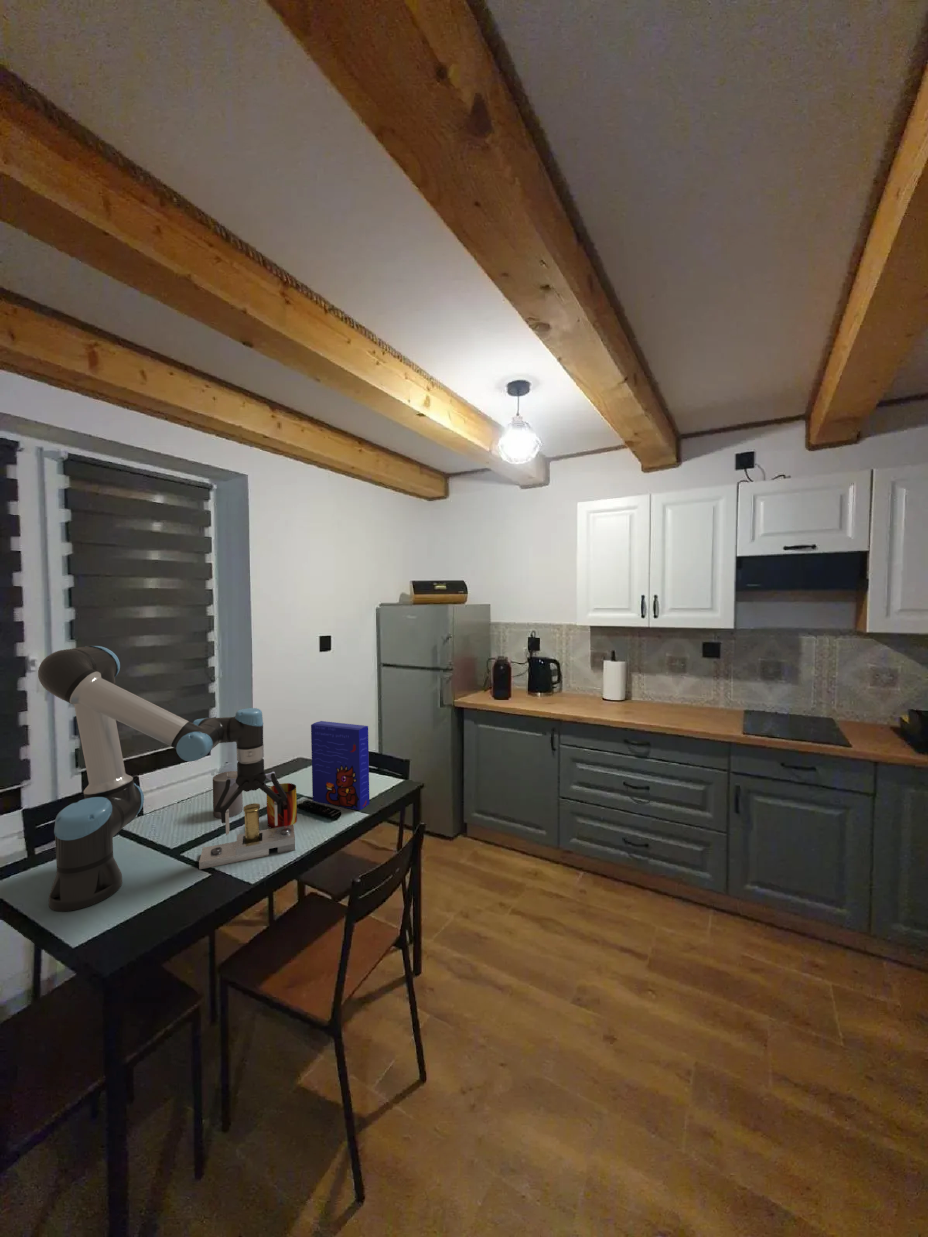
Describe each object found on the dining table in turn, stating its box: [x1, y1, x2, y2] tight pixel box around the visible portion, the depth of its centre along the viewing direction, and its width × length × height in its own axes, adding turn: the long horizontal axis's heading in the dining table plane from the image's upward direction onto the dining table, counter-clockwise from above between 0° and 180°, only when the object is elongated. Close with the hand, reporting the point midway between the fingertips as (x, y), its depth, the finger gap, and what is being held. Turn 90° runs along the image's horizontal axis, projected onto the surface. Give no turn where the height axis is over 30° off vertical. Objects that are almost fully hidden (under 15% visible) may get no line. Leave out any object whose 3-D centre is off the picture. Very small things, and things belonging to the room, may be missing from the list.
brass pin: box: [242, 802, 261, 844], centre depth 144 cm, size 5×5×14 cm
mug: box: [266, 782, 298, 829], centre depth 162 cm, size 10×14×12 cm
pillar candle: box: [212, 770, 244, 819], centre depth 171 cm, size 10×10×15 cm
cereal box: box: [310, 720, 371, 811], centre depth 178 cm, size 22×6×30 cm, turn 68°
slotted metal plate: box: [198, 825, 296, 870], centre depth 144 cm, size 26×9×5 cm, turn 113°
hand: (252, 828), depth 144 cm, fingers open, 13 cm apart
